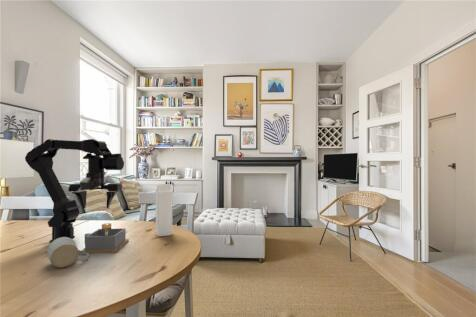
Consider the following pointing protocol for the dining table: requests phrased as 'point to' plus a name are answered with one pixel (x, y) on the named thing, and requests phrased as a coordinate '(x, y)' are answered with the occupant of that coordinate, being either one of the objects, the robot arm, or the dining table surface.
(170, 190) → the milk
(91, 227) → the dining table surface
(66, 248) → the ceramic mug
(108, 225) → the plunger
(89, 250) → the grey square tray
